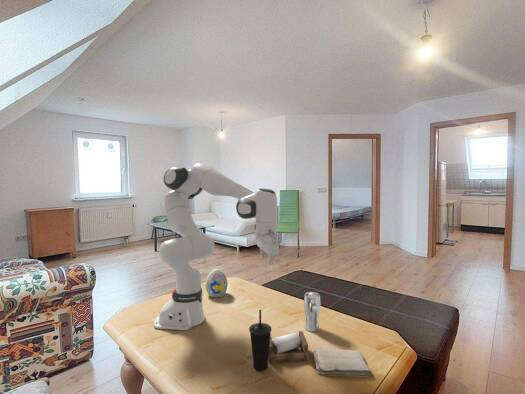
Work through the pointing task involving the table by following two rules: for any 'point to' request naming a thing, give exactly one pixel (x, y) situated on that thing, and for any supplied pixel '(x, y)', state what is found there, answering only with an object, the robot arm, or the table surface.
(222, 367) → the table surface
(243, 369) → the table surface
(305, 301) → the silver tumbler
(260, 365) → the drinking cup
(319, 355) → the washcloth
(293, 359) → the cradle
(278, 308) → the table surface
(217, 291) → the decorative egg
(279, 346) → the roll
